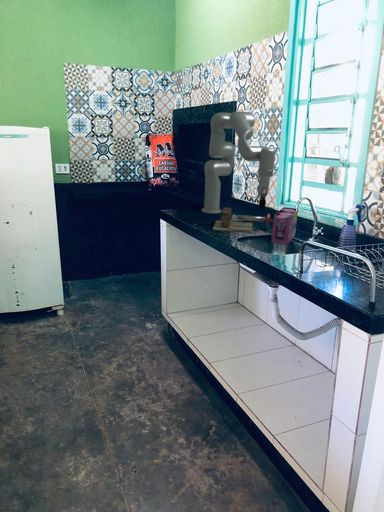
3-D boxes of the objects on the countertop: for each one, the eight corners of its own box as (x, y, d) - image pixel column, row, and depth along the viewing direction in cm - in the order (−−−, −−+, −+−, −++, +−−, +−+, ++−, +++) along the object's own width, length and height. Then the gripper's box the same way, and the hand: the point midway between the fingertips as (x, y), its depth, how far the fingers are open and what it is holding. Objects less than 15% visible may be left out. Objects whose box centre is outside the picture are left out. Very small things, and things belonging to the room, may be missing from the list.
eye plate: (216, 222, 228) (217, 206, 226) (252, 224, 226) (253, 208, 223) (212, 229, 211) (213, 212, 209) (251, 232, 209) (253, 215, 206)
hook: (236, 221, 221) (237, 210, 219) (272, 224, 218) (273, 212, 216) (235, 224, 215) (236, 212, 213) (272, 227, 212) (273, 215, 210)
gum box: (286, 246, 188) (290, 217, 184) (269, 243, 191) (272, 215, 187) (295, 234, 209) (298, 208, 205) (280, 232, 212) (282, 206, 208)
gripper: (258, 170, 216) (254, 202, 222) (257, 174, 200) (254, 208, 205) (272, 171, 215) (268, 203, 221) (273, 175, 199) (269, 210, 204)
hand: (261, 206), depth 213 cm, fingers open, 9 cm apart
